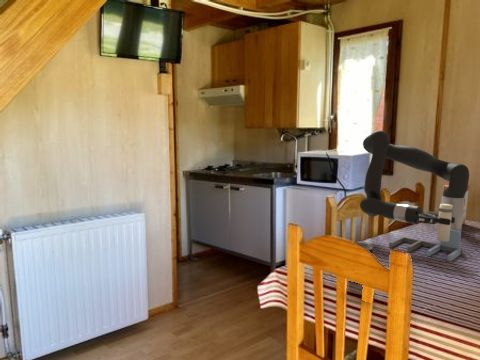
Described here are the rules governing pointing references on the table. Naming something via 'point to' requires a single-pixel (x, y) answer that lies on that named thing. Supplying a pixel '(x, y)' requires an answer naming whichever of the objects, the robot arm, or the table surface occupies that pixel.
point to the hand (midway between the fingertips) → (452, 221)
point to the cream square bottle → (443, 229)
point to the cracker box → (464, 201)
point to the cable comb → (434, 245)
